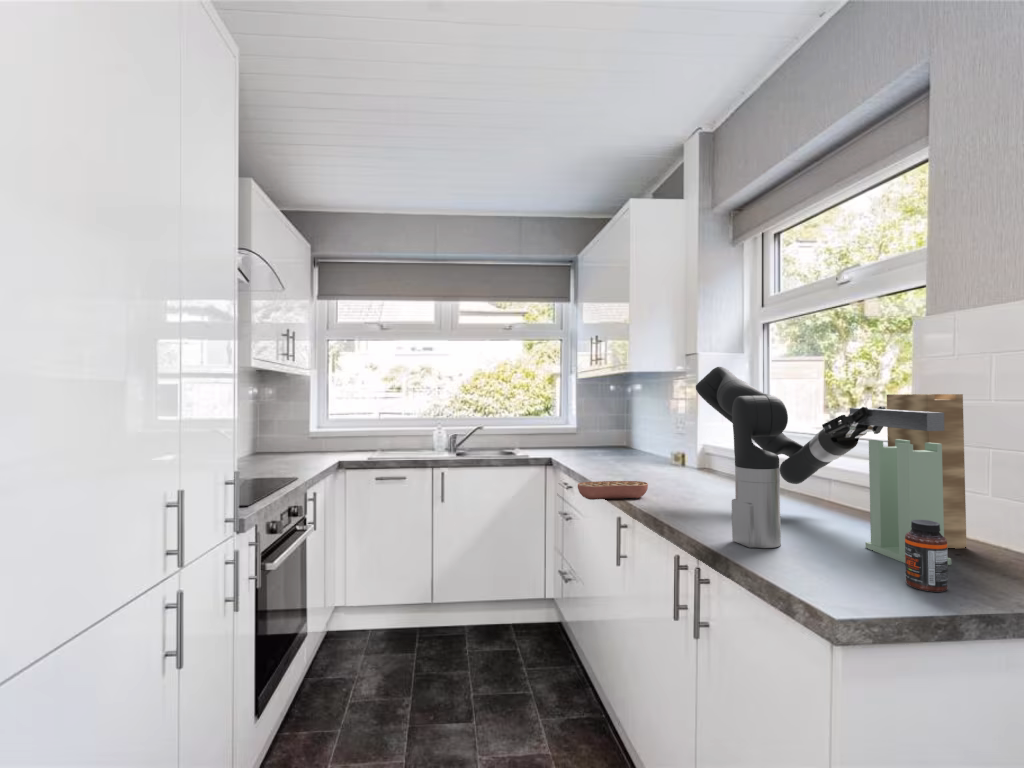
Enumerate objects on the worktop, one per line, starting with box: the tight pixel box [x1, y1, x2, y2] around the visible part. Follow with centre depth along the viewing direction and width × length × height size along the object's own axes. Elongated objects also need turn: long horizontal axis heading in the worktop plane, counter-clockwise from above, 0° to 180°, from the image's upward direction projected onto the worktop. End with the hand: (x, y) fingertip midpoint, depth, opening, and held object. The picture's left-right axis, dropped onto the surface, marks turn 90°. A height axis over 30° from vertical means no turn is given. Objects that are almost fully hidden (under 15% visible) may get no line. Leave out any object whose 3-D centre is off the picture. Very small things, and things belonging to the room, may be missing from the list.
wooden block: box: [886, 393, 968, 550], centre depth 126 cm, size 12×8×33 cm, turn 4°
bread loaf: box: [577, 480, 649, 501], centre depth 181 cm, size 23×10×5 cm, turn 94°
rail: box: [849, 407, 944, 431], centre depth 118 cm, size 22×4×4 cm, turn 4°
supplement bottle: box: [904, 520, 949, 593], centre depth 97 cm, size 6×6×11 cm
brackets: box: [864, 439, 952, 566], centre depth 115 cm, size 13×8×24 cm, turn 4°
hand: (875, 410), depth 123 cm, fingers closed on rail, 3 cm apart
